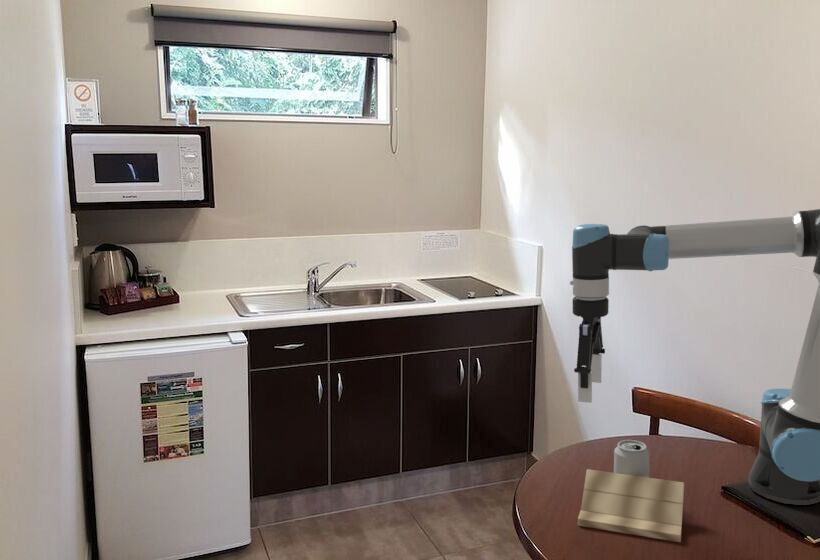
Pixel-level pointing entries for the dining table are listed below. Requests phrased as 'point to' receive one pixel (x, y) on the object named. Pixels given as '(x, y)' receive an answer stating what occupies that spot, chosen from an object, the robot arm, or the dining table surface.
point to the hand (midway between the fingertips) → (590, 391)
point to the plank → (633, 496)
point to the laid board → (630, 525)
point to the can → (631, 458)
